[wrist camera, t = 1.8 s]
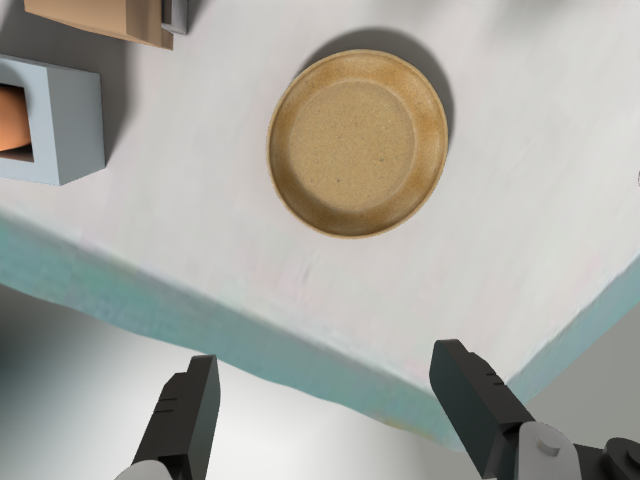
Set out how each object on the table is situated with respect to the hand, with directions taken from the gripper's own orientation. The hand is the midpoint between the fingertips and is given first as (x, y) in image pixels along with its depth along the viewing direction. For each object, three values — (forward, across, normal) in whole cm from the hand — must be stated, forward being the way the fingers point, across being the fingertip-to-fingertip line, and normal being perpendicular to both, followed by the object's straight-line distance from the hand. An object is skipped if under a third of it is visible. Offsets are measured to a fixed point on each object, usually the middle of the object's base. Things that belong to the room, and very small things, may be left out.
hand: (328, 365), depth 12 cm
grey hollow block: (+20, +19, -8) cm, 28 cm away
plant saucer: (+20, -5, -6) cm, 21 cm away
